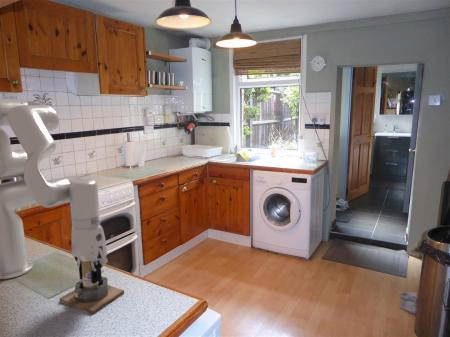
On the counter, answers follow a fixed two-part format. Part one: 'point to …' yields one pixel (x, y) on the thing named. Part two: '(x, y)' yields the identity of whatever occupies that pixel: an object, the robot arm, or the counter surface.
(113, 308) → the counter surface
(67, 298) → the walnut board
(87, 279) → the sprinkles bottle
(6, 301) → the counter surface
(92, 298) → the socket
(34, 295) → the counter surface
